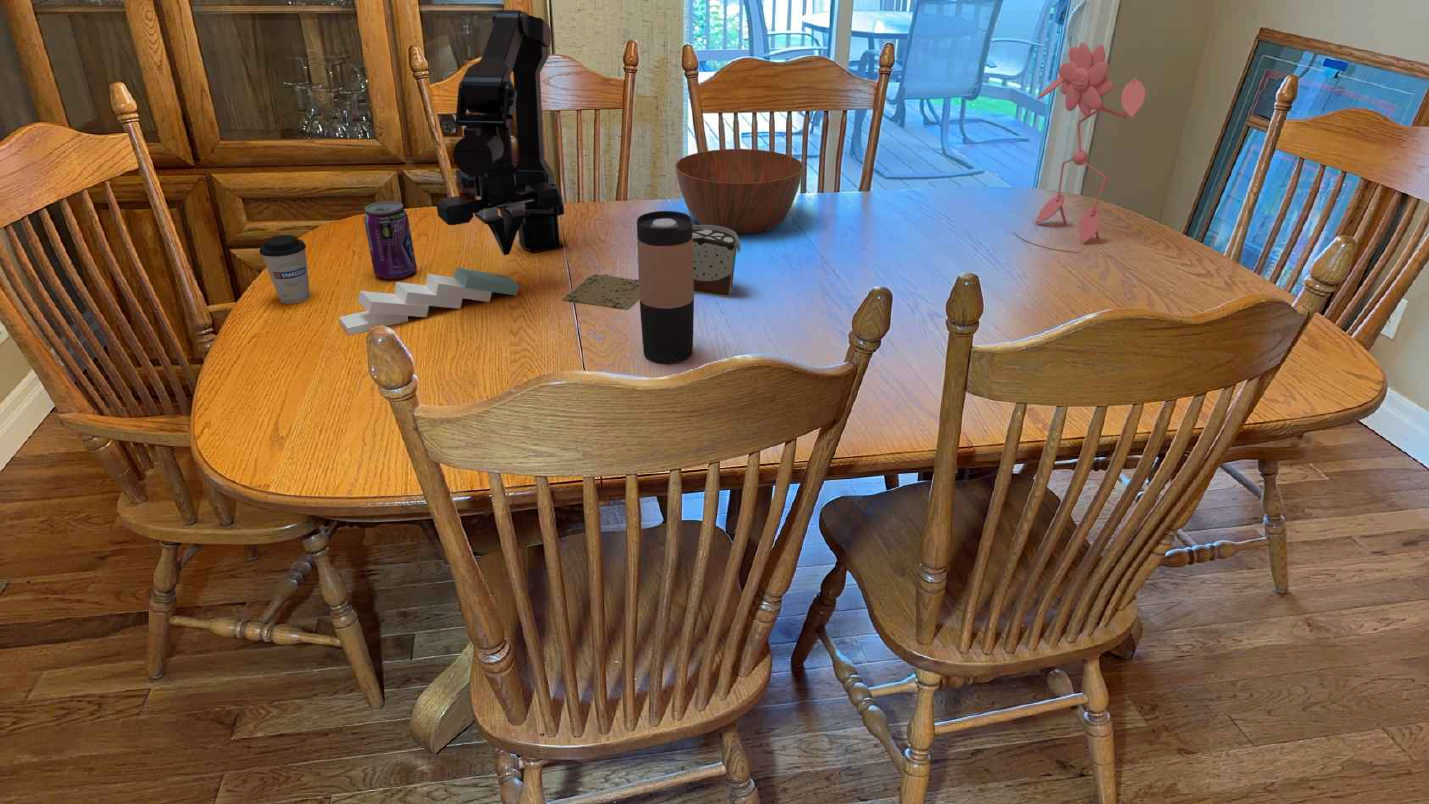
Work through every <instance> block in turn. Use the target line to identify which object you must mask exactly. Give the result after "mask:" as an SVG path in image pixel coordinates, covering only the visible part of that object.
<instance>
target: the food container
mask: <svg viewBox="0 0 1429 804" xmlns="http://www.w3.org/2000/svg"><path fill="white" fill-rule="evenodd" d="M692 234H693V276H694V294H700V295H707V296H716V297H722V298H730V297H731V296H732V291H733V285H734V284H733V282H734V274H735V266H736V257H737V253H739V254H740V252H741V249H742V248H741V243H740V239H739V236H738V234H736V233H735V232H734V231H732V230H730V229H728V228H725V227H720V226H714V225H700V224H695V225H694V224H692Z"/></svg>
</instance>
